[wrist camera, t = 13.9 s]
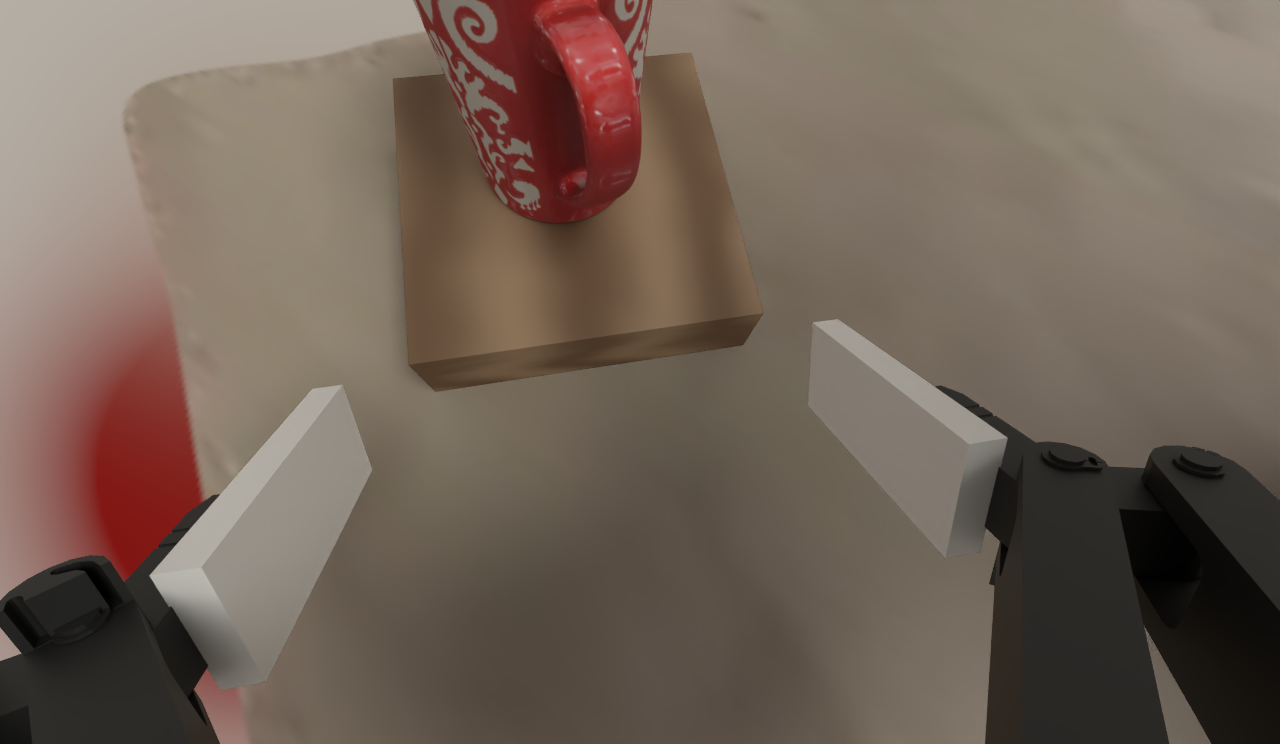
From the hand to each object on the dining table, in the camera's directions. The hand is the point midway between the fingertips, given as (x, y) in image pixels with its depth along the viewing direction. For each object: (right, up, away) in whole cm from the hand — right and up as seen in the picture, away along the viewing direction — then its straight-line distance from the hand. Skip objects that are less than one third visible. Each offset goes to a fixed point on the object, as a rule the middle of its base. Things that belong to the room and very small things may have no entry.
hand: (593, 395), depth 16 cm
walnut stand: (-3, +8, +15) cm, 18 cm away
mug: (-2, +9, +12) cm, 15 cm away
